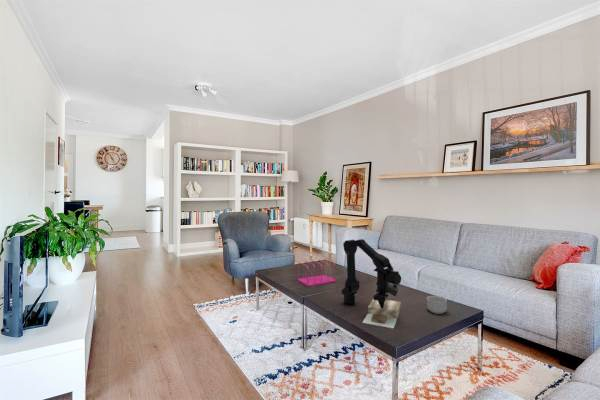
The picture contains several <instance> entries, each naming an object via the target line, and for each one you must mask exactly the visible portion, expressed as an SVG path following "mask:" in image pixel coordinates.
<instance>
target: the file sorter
mask: <svg viewBox="0 0 600 400" xmlns="http://www.w3.org/2000/svg"><path fill="white" fill-rule="evenodd" d="M327 261H328V262H331V263H333V265H334V267H333V269H334V271H333V272H334V273H333V277H330V275H329V272H330V271H329V269H330V267H329V263H328V262H327ZM313 262H315V263H317V274H319V269H320V267H319V266H321V271H320V272H321V275H316V266H315V263H313ZM320 262H322V263H323V265H322V264H321V263H320ZM306 263H308V264H310V265H311V267H313V270H314V271H313V272H311V276H307V277H306V275H307V273H306V271H307V270H309V267H308V265H307V264H306ZM300 264H301V265H302V266H304V277H300ZM326 265H327V275H326V272H325V268H326V267H325V266H326ZM297 266H298V267H297V269H298V270H297V271H298V274H297V275H298V276H297V277H298V278H296V279H297V282H298V283H300V284H302V285H303V286H305V287H315V286H321V285H326V284H332V283H333V284H334V283H336V282H337V279H336V263H335V262H334V261H333V260H330V259H327V258H325V259H324V260H321V259H318V260H317V261H316V260H312V261H311V262H309V261H307V260H305V261H304V263H302V262H298V265H297ZM306 268H307V270H306Z"/></svg>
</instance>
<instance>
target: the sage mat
mask: <svg viewBox="0 0 600 400" xmlns="http://www.w3.org/2000/svg"><path fill="white" fill-rule="evenodd" d="M372 316H373V314H368V313H367V314H366V316H365V318H364V319H363V321H362V324H367V325H372V326H377V327H384V328H388V329H394V328H395V326H396V323H397V320H398V318H392V317H387V320H386V322H385V324H382V323H377V322H372V321H371V317H372Z"/></svg>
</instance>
